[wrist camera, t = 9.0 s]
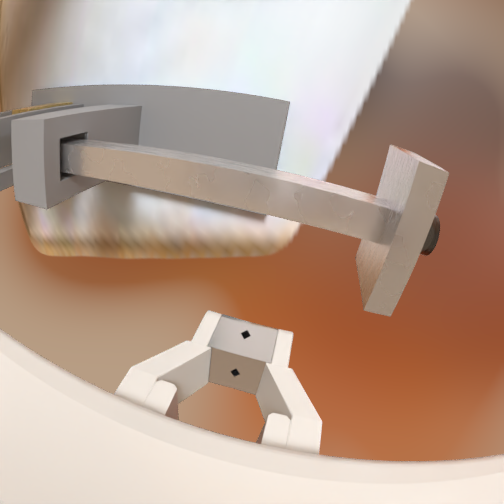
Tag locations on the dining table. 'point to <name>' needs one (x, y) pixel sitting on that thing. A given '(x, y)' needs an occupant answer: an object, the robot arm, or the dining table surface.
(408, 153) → the shaft
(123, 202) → the dining table surface
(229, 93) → the bearing base
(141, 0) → the dining table surface
